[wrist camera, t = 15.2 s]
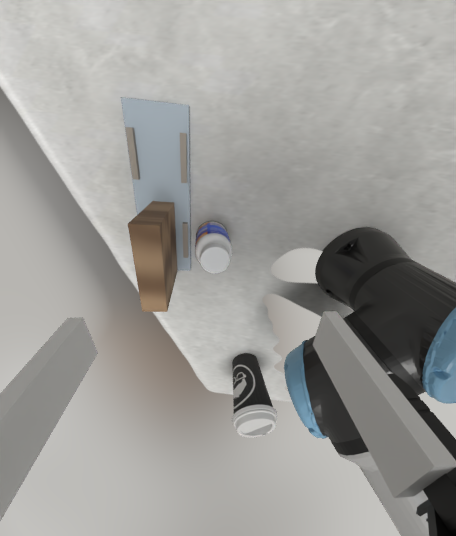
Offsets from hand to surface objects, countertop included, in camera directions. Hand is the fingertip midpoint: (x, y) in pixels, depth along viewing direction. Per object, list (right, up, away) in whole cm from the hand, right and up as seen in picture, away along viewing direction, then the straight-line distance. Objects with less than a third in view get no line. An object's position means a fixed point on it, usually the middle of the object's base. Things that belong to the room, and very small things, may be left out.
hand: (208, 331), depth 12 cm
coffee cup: (+6, -21, +42) cm, 47 cm away
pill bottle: (-2, +9, +24) cm, 26 cm away
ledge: (-9, +14, +20) cm, 26 cm away
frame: (-9, +9, +22) cm, 25 cm away
